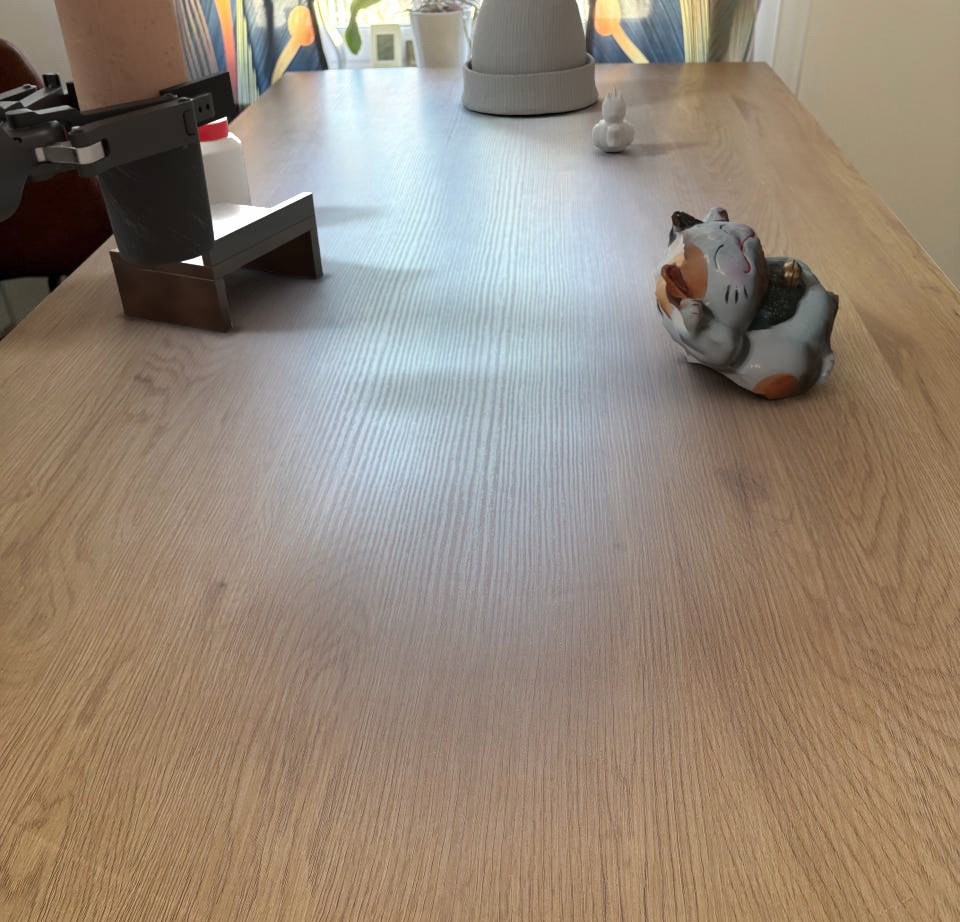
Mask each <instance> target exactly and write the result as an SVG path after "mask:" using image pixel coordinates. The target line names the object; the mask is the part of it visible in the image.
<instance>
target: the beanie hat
mask: <svg viewBox="0 0 960 922" xmlns="http://www.w3.org/2000/svg"><path fill="white" fill-rule="evenodd" d="M471 43H472V45H471V57H470V58H468V59H467V60H466V61H465V62H464V63H463V65H462V77H463V80H462V81H463V88H462V94H461V96H460V97H461V103H462V105H463V107H465V108H466V109H468V110H470V111H474V112H477V113H482V114H483V113H484V114H492V115H505V116H513V115H514V116H515V115H516V116H526V115H527V116H529V115H542V114H556V113H557V114H558V113H565V112H571V111H577V110H580V109H584V108H587V107H589V106H592V105H593V104H595V103H596V101H598V97H599V91H598V88H597V85H596V59H595V57H594V56H592V55H591V54H590V53H589V52H587V40H586V35H585V29H584V25H583V21H582V17H581V13H580V8H579V5H578V2H577V0H482V2H481V5H480V7H479V10H478V14H477V17H476V20H475V25H474V31H473V35H472V42H471Z"/></svg>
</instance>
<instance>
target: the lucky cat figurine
mask: <svg viewBox="0 0 960 922" xmlns="http://www.w3.org/2000/svg"><path fill="white" fill-rule="evenodd" d="M670 218H671V221H672V224H671V229H670V231H669V234H668V243H667V247H666V250H665V253H664V256H663V257H662V258H661V260H660V262H659V264H658V266H657V268H656V269H655V272H654V273H653V277H654V281H655V291H654V294H655V297H656V299H655V300H656V305H655V307H656V313H657V314H658V317H659V320H660V323H661V324H662V326H663V327H664V328H665V330H666V331H667V332H668V334H669V336H670V337H671V339H672V340H673V342H675V343H676V344H678V345H679V346H680V347H682V355H683V357H684V358H685V360H687V362H689V363H694V364H695V363H696V364H701V365H703V366H705V367H708V368H710V369H711V370H714V371H716V372H718V373H719V374H722V375H723V376H725V377H727V378H728V379H729V380H731V381H732V382H734V383H735V384H737V385H738V386H740V387H741V388H743V389H745V390H747V391H750V392H752V393H754V394H755V395H756V396H759V397H762V398H763V399H767V400H770V401H771V400H776V399H784V398H788V397H794V396H795V397H796V396H800V395H803V394H806V393H807V392H809V391H810V390H811V389H813V388H814V387H822V386H823V385H824V384H825V383H826V381H828V380H829V379H830V376H831V373H832V371H833V369H834V367H835V363H836V360H835V359H836V356H835V352H834V350H833V349H832V347H831V346H832V345H831V337H832V334H833V333H832V332H833V331H834V324H835V322H836V317H837V314H838V311H839V309H840V306H839V304H840V297H839V295H838V294H835V293H834V292H833V291H829V290H826V288H825V287H824V286H823V285H822V284H821V281H820V280H819V278H818V277H817V276H816V275H815V273H814V272H813V271H812V269H811V268H810V267H809V266H808V265H807V264H806V263H805V262H803V261H802V260H800V259H798V258H795V257H791V256H765V251H764V250H763V245H762V241H761V239H760V238H759V236H758V233H757V231H756V230H755V229H754V228H753V227H751V226H749V225H747V224H745V223H741V222H737V221H730V219H729V214H728V212H727V209H725V208H724V207H722V206H714V207H711V208H710V209H709V210H708V212H707V214H706V216H704V217H703V219H702V220H701V219H698V218H695V216H693V215H692V214H691V215H690V214H689V213H687V212H685V211H680V210H676V211H673V213H672V215H671V216H670Z"/></svg>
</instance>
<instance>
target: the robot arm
mask: <svg viewBox="0 0 960 922" xmlns="http://www.w3.org/2000/svg"><path fill="white" fill-rule="evenodd" d="M41 78H42V81H43V85H44V87H42V88H40V89H39V90H38V88H37V86H36V85H33V84H32V85H31V84H30V83H25V84H22V86H19V87H16V88H14V89H10V90H7V91H4V92H1V93H0V223H1V222H4V221H7V220H8V219H9V218H10V217H12V216H13V215H14V214H15V213H16V211H17V210H18V208H19V205H20V204H21V201H22V197H23V192H24V188H25V184H26V183H29V184H31V183H39V182H43V181H49V180H51V179H53V177H54V176H55V175H56V174H59V173H65V172H68V171H73V170H77V173H78V176H79V178H82V179H93V178H95V177H98V176H97V175H99V174H101V173H103V172H105V171H107V170H109V169H111V168H113V167H116V166H119V165H122V164H126V163H129V162H132V161H135V160H139V159H142V158H145V157H148V156H152V155H155V154H158V153H161V152H165V151H168V150H171V149H175V148H179V149H182V150H183V149H186V148H187V145H188V144H193V143H195V142H197V141H199V140H200V138H199V132H198V127H201V126H204V125H206V124H209V123H212V122H214V121H217V120H220V119H222V118H225V117H227V118H228V117H230V116H233V115H236V114H237V112H236V111H237V110H236V105H235V98H234V92H233V86H232V81H231V74H230V71H227V70H219V71H215V72H213V73H210V74H206V75H203V76H201V77H197V78H194V79H191V80H189V81H188V82H185V83H182V84H178V85H175V86H172V87H169V88H166V89H163V90H160V91H159V93H160V96H158V97H153V98H148V99H142V100H137V101H132V102H127V103H122V104H116V105H111V106H106V107H101V108H96V109H90V110H85V111H80V107H79V103H78V99H77V95H76V91H75V86H74V82H73V80H71V81H67V82H66V81H65V87H66V89H64V87H63V84H62V80H61V75H60V73H58V72H48V73H43V74H41ZM64 129H65V130H64ZM65 131H66V134H65ZM66 135H67V138H66ZM67 139H68V140H67Z"/></svg>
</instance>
